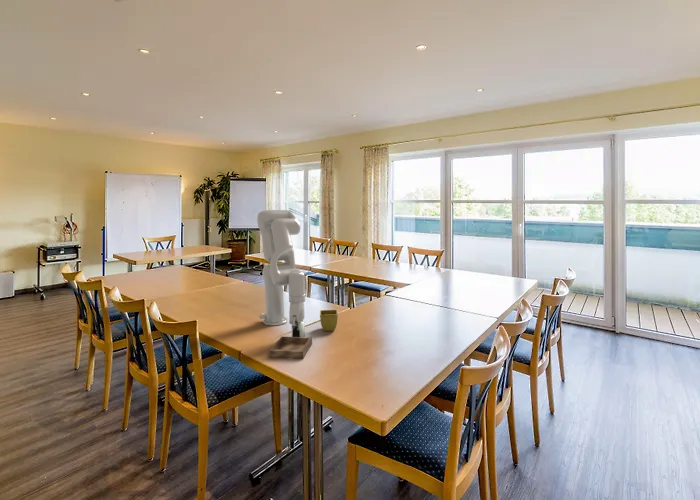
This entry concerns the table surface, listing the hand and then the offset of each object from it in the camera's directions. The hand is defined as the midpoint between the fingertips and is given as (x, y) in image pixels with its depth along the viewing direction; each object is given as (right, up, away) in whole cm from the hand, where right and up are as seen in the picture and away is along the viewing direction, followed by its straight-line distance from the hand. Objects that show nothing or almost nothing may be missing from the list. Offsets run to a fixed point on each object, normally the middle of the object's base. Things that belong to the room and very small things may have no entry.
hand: (298, 335), depth 165 cm
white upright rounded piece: (0, -2, 0) cm, 2 cm away
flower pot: (+14, 0, +13) cm, 19 cm away
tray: (-1, -3, -14) cm, 14 cm away
